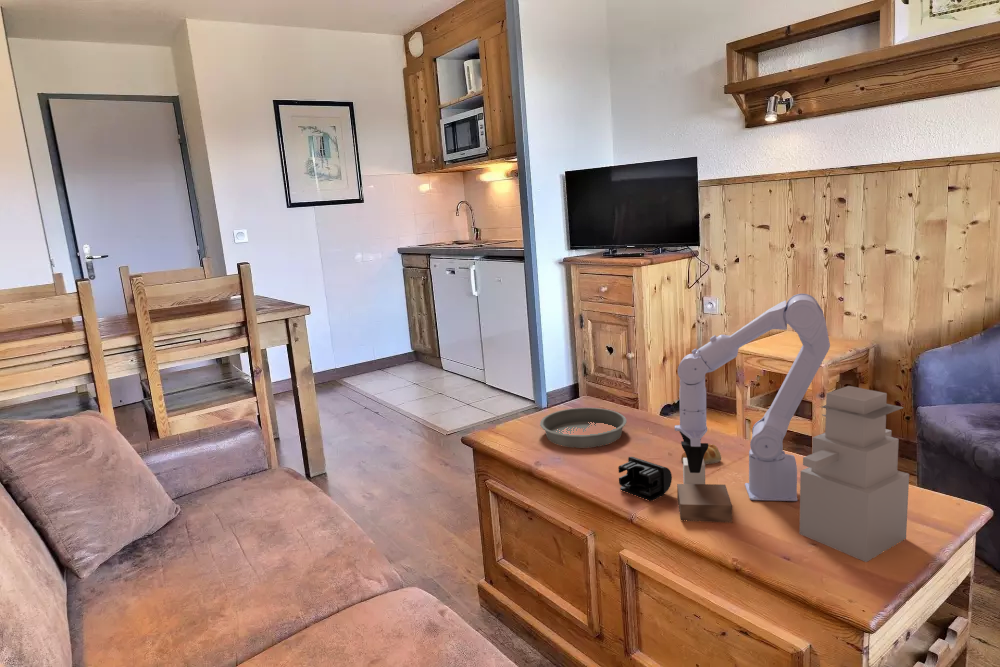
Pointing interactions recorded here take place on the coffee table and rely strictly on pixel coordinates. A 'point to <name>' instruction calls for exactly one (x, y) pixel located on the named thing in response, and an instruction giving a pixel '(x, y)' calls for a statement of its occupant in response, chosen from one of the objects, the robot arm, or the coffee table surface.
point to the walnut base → (704, 502)
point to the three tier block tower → (854, 478)
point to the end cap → (644, 479)
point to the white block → (693, 474)
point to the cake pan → (582, 426)
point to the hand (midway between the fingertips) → (693, 465)
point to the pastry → (709, 455)
